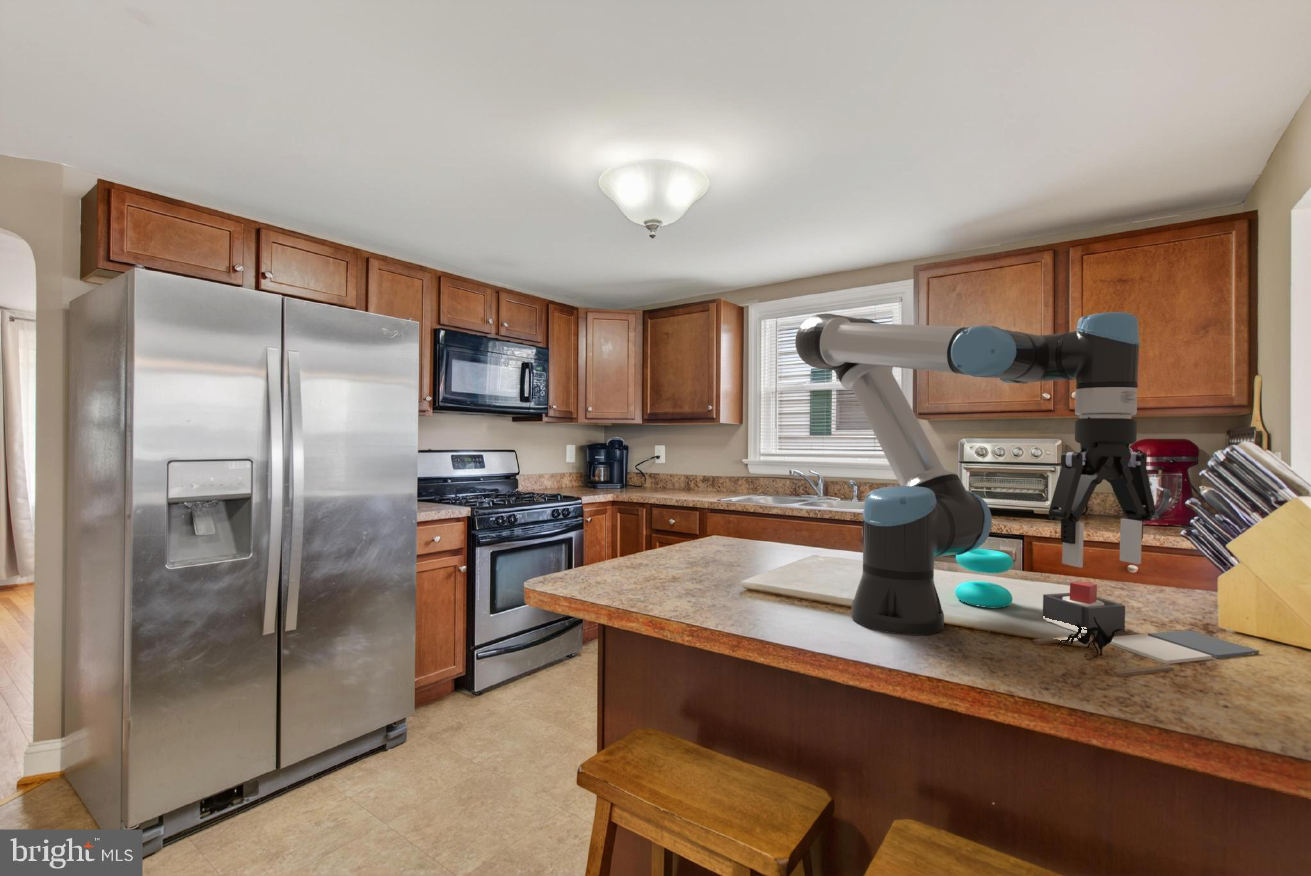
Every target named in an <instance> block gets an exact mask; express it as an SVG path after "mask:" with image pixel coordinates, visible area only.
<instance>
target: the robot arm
mask: <svg viewBox="0 0 1311 876" xmlns="http://www.w3.org/2000/svg"><path fill="white" fill-rule="evenodd" d="M1076 325H1077V326H1076V327H1075V328H1076V329H1075V330H1074V331H1069V332H1062V333H1054V334H1053V333H1052V334H1051V333H1050V334H1039V335H1038V334H1033V333H1027V332H1021V331H1016V330H1015V331H1014V330H1011V329H1004V328H1000V327H997V326H993V325H992V326H990V325H974V326H970V327H969V326H968V327H965V326H952V325H951V326H949V325H948V326H947V325H921V324H900V323H899V324H897V323H895V324H894V323H879V322H877V321H874V320H873V319H870V318H863V317H862V318H861V317H860V318H856V317H851V316H846V315H839V314H833V313H819V314H815V315H812V316H810V317H808V318H807V319H806V320H805V321H804V322H803V323H801V325H800V326H799V328H798V330H797V332H796V336H795V350H796V352H797V354H798V356H799V358H800V359H801V360H802V361H803V362H804V364H806V365H808V366H810V367H812V368H815V369H817V370H818V369H819V370H826V371H834V372H835V374H836V377H837V378H838V380H839V382H840V385H841V386H842V387H843V388H844V389H845V390H846V389H847V390H852V392H853V394H854V395H855V398H856V399H857V402H858V404H859V406H860V407H861V410H862V412H863V413H864V416H865V417H866V420H867V422H868V424H869V426H870V428H871V429H872V432H873V433H874V436H875V438H876V440H877V442H878V443H879V445H880V447H881V449H882V452H883V454H884V456H885V457H886V460H887V462H888V464H889V466H890V467H891V469H892V472H893V473H894V476H895V477H896V480H897V482H898V484H899V485H898V486H885V487H880V488H877V489H872V490H871V491H870V492H868V493H867V494H866V496H865V497H864V503H863V504H864V505H863V510H862V520H863V525H862V526H863V527H862V531H863V532H862V574H861V578H860V580H859V583H858V585H857V588H856V593H855V594H854V598H853V600H852V602H851V612H850V613H851V614H850V616H851V618H852V620H853V621H854V622H856V623H858V624H860V625H862V626H863V627H867V628H868V629H869V628H870V629H872V630H877V631H880V632H881V631H882V632H886V633H893V634H899V635H909V636H910V635H915V636H919V635H922V636H923V635H930V634H931V635H932V634H936V633H938V632H939V633H940V632H941V631H942V630H944V628H945V614H944V610H943V609H942V605H941V604H942V603H941V601H940V597H939V594H938V590H937V587H936V585H935V580H934V579H935V578H934V574H935V570H934V569H935V558H939V557H946V556H956V555H961V554H964V553H966V552H969V551H972V550H975V549H979V547H981V546H982V545H983V544H984V543H986V541H987V539H988V538H989V536H990V535H989V534H990V532H991V529H992V523H993V521H992V520H993V518H992V513H991V510H990V507H989V505H988V504H987V502H986V501H985V500H984V498H983V497H981V496H980V495H979V494H977V493H974V492H973V491H970V490H968V489H966V488H965V485H964V484H963V482H962V481H961V479H960V477H959V475H958V474H957V473H956V472H955V471H954V472H953V471H950V470H947V469H945V467H944V465H943V463H942V462H941V460H940V458H939V456H938V455H937V453H936V451H935V448H934V447H933V446H932V444H931V442H930V440H929V438H928V436H927V435H926V433H925V431H924V429H923V427H922V425H921V424H920V421H919V420H918V418H917V416H916V414H915V412H914V410H913V409H912V407H911V405H910V403H909V402H908V400H907V397H906V396H905V394H904V392H903V390H902V389H901V387H900V385H899V383H898V381H897V380H896V377H895V375H894V374H893V372H892V370H893V368H901V369H909V370H919V371H927V372H929V371H930V372H936V373H937V372H939V373H947V374H959V375H963V376H971V377H974V378H975V377H976V378H992V379H999V380H1000V381H1001V382H1003V383H1006V384H1023V385H1024V384H1029V383H1038V382H1039V383H1040V382H1055V381H1073V380H1074V381H1075V399H1074V400H1075V402H1074V403H1075V404H1074V405H1075V406H1074V414H1075V415H1076V416H1079V418H1077V419H1076V420H1075V421H1074V441H1075V442H1076V443H1077V444H1079V446H1080V447H1079V450H1078V452H1074V451H1063V452H1062V453H1061V456H1060V457H1061V459H1060V461H1061V463H1060V464H1061V467H1060V471H1059V474H1058V478H1057V481H1056V484H1055V488H1054V492H1053V496H1052V499H1051V503H1050V506H1049V509H1048V515H1049V516H1050V517H1053V518H1054V519H1055V520H1059V521H1060V541H1061V543H1062V551H1061V552H1062V555H1061V556H1062V558H1061V560H1062V561H1061V564H1064V565H1067V566H1072V567H1076V568H1083V566H1084V565H1083V564H1084V535H1085V533H1084V530H1085V523H1084V522H1080V519H1081V517H1082V515H1083V513H1084V511H1085V510H1086V509H1085V508H1086V507H1087V505H1088V503H1089V502H1090V499H1091V497H1092V495H1093V493H1094V491H1095V489H1096V488H1097V486H1098V485H1099V484H1102V482H1103V481H1106V482H1108V483H1109V484H1110V486H1111V488H1112V490H1113V491H1114V492H1113V493H1114V494H1115V496H1116V500H1117V501H1118V503H1119V505H1120V507H1121V509H1122V512H1123V515H1124V516H1125V518H1120V525H1119V526H1120V528H1119V530H1120V531H1119V561H1121V562H1125V563H1129V564H1135V565H1141V564H1142V543H1143V542H1142V541H1143V538H1144V521H1145V522H1150V521H1152V519H1153V517H1154V516H1155V515H1156V513H1157V511H1156V510H1157V509H1156V506H1155V501H1154V497H1153V491H1152V487H1151V483H1150V478H1149V474H1148V471H1147V470H1148V469H1147V464H1148V463H1147V461H1148V456H1147V453H1145V452H1131V451H1130V445H1133V444H1135V443H1136V442H1137V440H1138V439H1137V434H1138V433H1137V430H1138V423H1137V422H1138V421H1136V419H1133V418H1132V416H1136V415H1137V413H1138V384H1139V382H1138V381H1139V380H1138V379H1139V377H1138V375H1139V357H1140V346H1141V342H1140V330H1139V329H1140V328H1139V319H1138V317H1137V316H1136V315H1135V314H1133V313H1129V312H1123V311H1117V312H1115V311H1113V312H1099V313H1092V314H1090V315H1085V316H1084V315H1083V316H1082V317H1080V318H1079V319H1078V321H1077V324H1076Z"/></svg>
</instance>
